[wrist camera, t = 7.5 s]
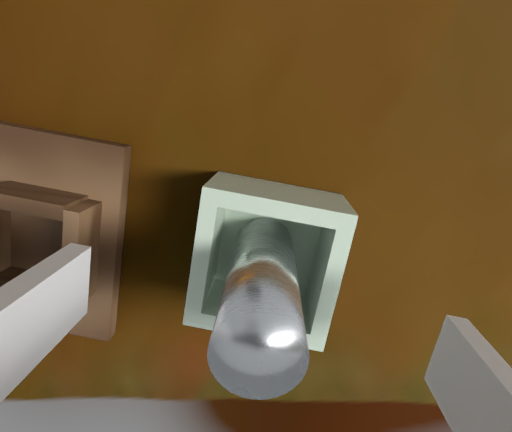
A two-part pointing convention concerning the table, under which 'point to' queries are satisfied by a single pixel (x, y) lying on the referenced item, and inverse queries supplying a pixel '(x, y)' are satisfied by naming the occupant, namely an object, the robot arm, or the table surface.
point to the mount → (65, 210)
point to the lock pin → (260, 316)
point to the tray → (303, 238)
